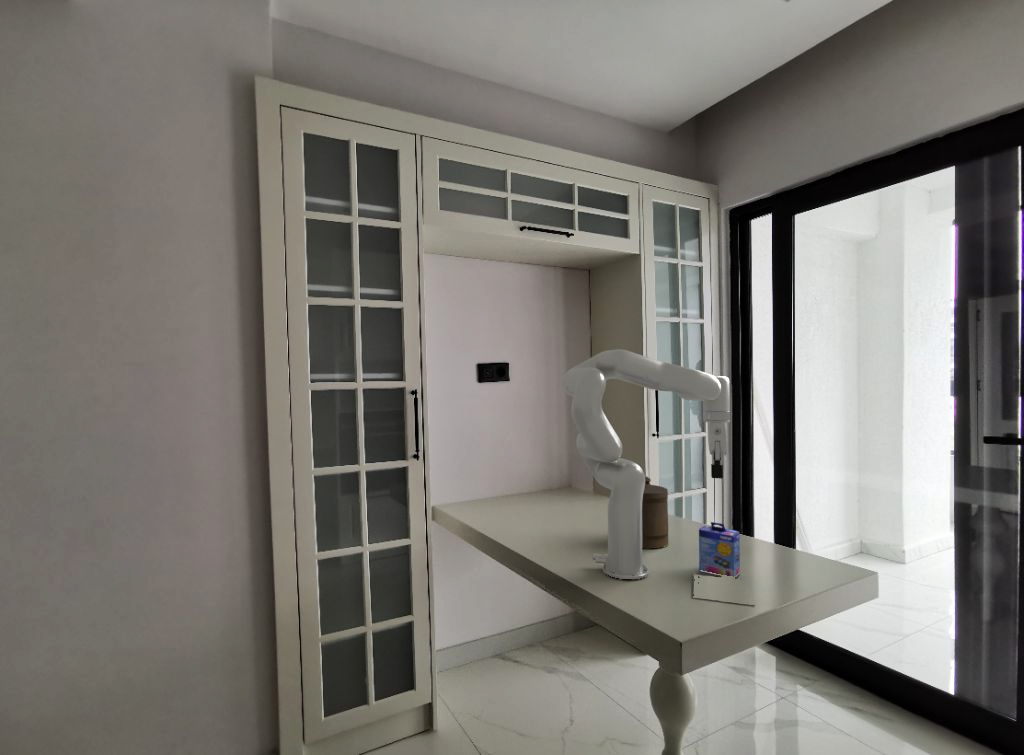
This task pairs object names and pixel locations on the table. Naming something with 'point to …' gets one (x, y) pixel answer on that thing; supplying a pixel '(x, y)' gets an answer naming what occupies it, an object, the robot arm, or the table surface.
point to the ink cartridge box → (719, 550)
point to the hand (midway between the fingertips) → (717, 477)
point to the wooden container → (654, 516)
